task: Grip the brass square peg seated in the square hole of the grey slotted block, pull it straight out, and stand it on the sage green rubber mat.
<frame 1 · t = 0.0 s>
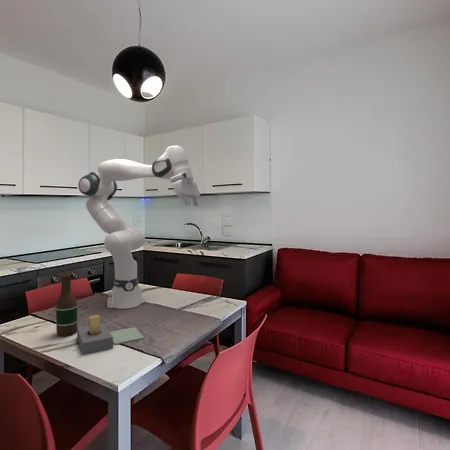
hand: (192, 205, 149), 52 cm above the table, tool tilted 20°, fingers open, 8 cm apart
green mat: (125, 336, 124), on the table
grey slotted block: (94, 342, 118), on the table
brass peg: (94, 329, 118), in the grey slotted block
beer bottle: (67, 333, 127), on the table
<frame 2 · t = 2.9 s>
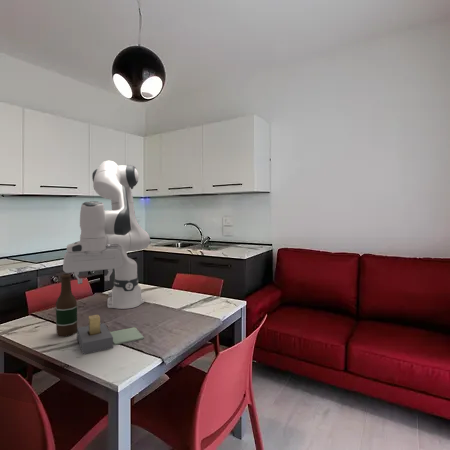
hand: (93, 282, 117), 23 cm above the table, tool pointing down, fingers open, 8 cm apart
nothing on the table moved.
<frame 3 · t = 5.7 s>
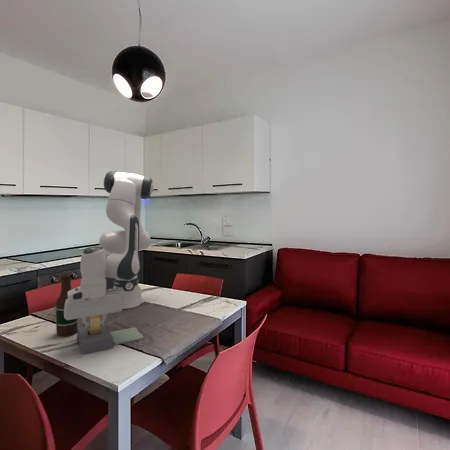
hand: (94, 326, 118), 6 cm above the table, tool pointing down, fingers closed on brass peg, 3 cm apart
brass peg: (94, 329, 118), in the grey slotted block, touching gripper
everything else where it was.
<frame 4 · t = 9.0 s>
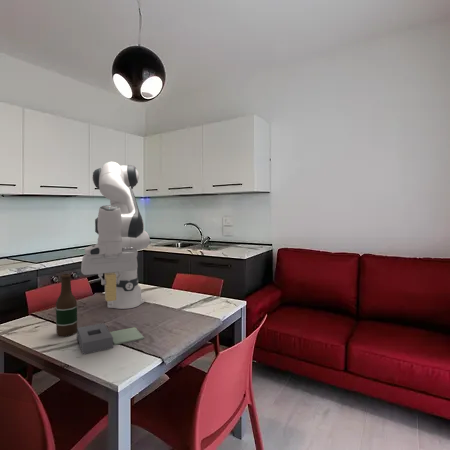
hand: (110, 283, 120), 22 cm above the table, tool pointing down, fingers closed on brass peg, 3 cm apart
brass peg: (110, 286, 120), point 20 cm above the table, touching gripper
everything else where it was.
when the fingers open (8 cm above the table, at t = 12.7 s): brass peg drops 1 cm, resting on green mat.
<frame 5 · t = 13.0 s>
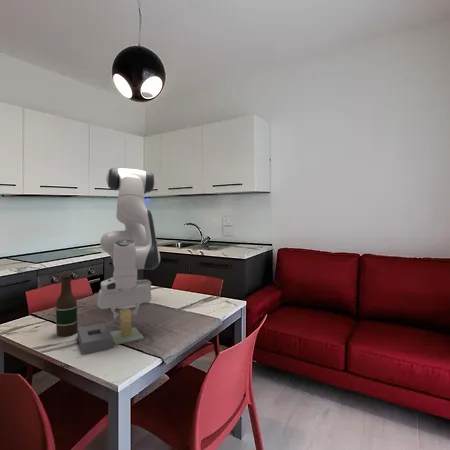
hand: (125, 316, 124), 8 cm above the table, tool pointing down, fingers open, 6 cm apart
brass peg: (125, 322, 124), on the green mat, point 6 cm above the table
everything else where it was.
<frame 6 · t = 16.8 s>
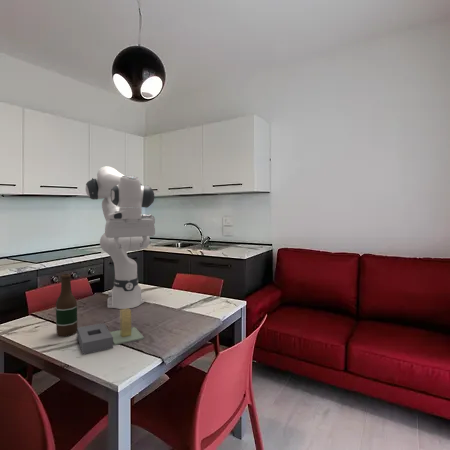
hand: (130, 247, 131), 34 cm above the table, tool pointing down, fingers open, 8 cm apart
nothing on the table moved.
at the end: brass peg inside the target area on the green mat (0.0 cm from its centre), point 5.6 cm above the green mat's base; brass peg tilted 0°; the gripper is holding nothing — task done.
